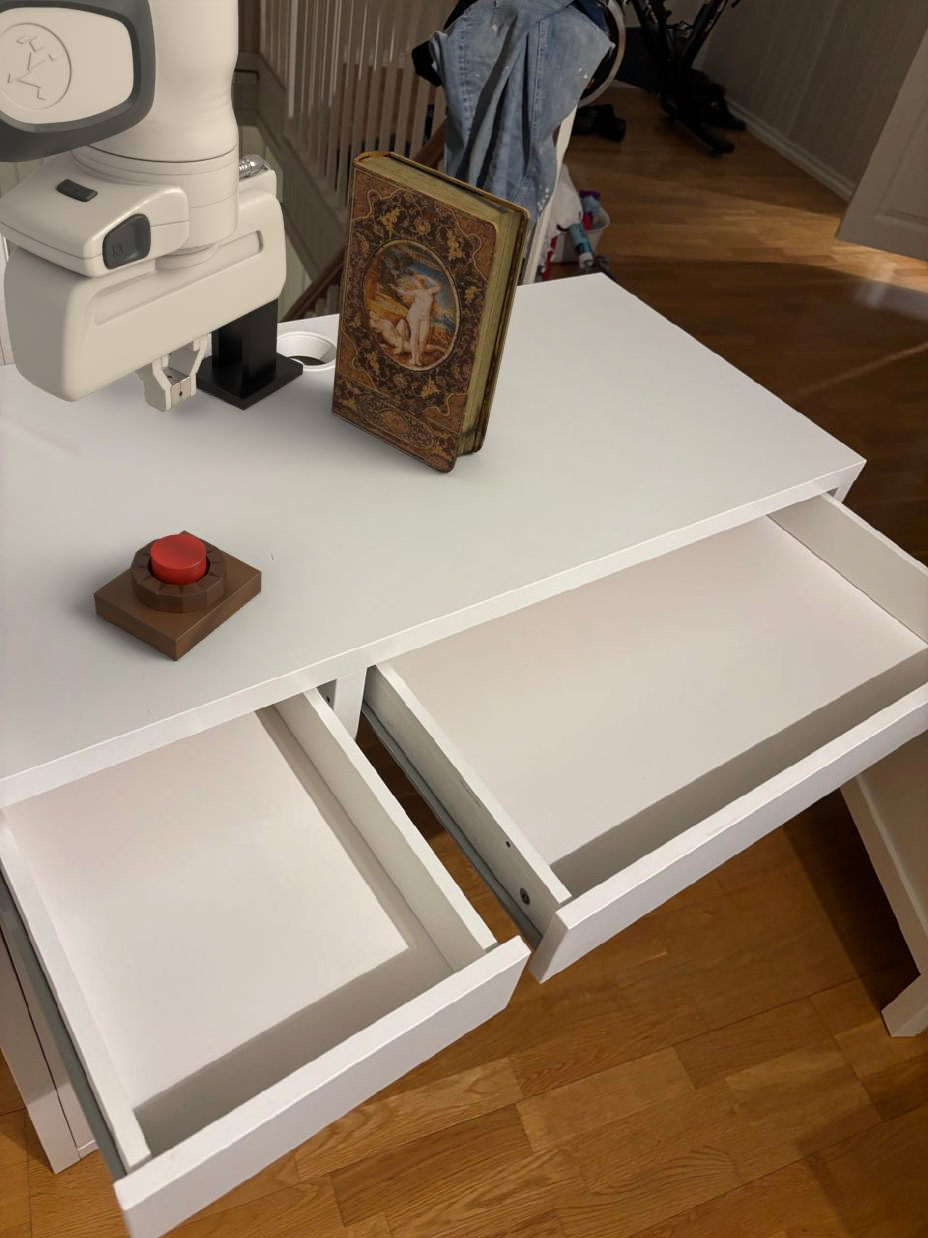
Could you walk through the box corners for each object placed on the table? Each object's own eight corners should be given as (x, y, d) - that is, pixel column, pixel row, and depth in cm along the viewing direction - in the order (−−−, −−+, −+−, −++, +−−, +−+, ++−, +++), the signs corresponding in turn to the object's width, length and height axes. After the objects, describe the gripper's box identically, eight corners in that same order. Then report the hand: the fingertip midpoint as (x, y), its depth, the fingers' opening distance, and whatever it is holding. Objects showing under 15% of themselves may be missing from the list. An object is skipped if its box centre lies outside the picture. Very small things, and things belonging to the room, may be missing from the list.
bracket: (243, 410, 96) (244, 280, 86) (182, 380, 98) (176, 249, 88) (303, 373, 102) (309, 249, 93) (244, 346, 104) (245, 222, 95)
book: (323, 408, 98) (341, 157, 81) (356, 390, 102) (380, 146, 85) (451, 478, 93) (499, 226, 76) (481, 456, 97) (534, 211, 80)
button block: (176, 661, 70) (174, 623, 68) (95, 614, 72) (90, 575, 70) (261, 591, 77) (262, 554, 75) (185, 549, 79) (183, 512, 77)
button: (181, 593, 70) (180, 575, 69) (140, 570, 72) (138, 552, 70) (217, 566, 73) (217, 548, 72) (177, 544, 74) (176, 526, 73)
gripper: (234, 132, 61) (235, 329, 70) (-35, 213, 47) (12, 445, 56) (314, 163, 59) (304, 361, 69) (61, 257, 45) (92, 489, 55)
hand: (171, 400), depth 62 cm, fingers closed
